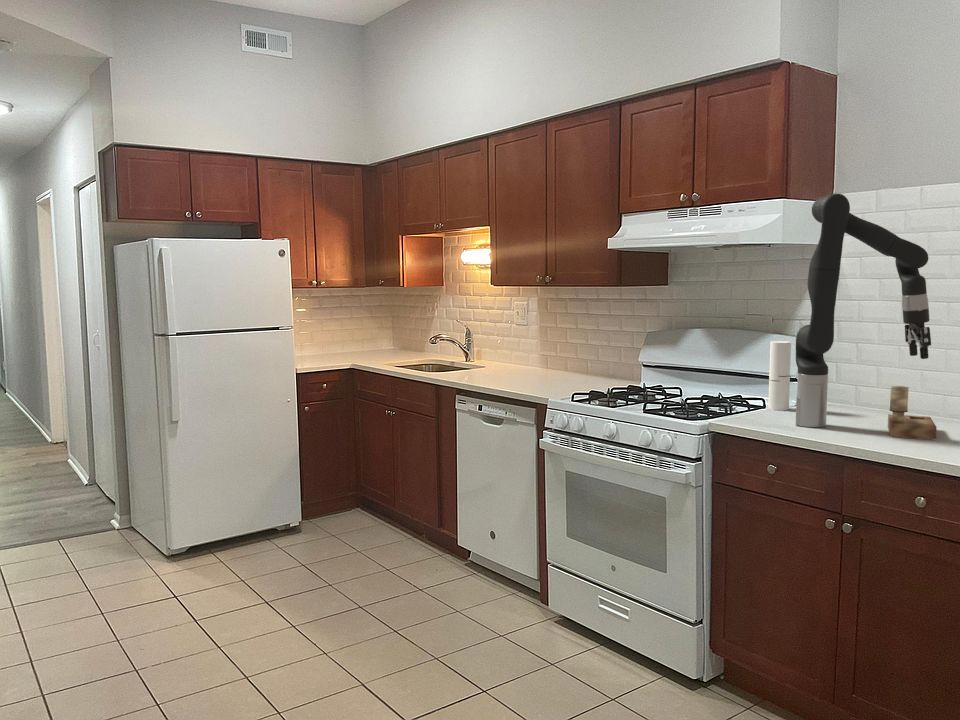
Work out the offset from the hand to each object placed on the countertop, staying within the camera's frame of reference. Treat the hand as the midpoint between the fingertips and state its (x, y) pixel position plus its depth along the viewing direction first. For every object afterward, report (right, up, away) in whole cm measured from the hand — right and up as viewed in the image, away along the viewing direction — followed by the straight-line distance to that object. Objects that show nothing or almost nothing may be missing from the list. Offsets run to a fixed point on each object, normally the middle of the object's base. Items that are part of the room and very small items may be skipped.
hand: (919, 357), depth 258 cm
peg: (-15, -20, -15) cm, 29 cm away
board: (-9, -24, -12) cm, 28 cm away
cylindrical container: (-33, -19, +34) cm, 51 cm away
